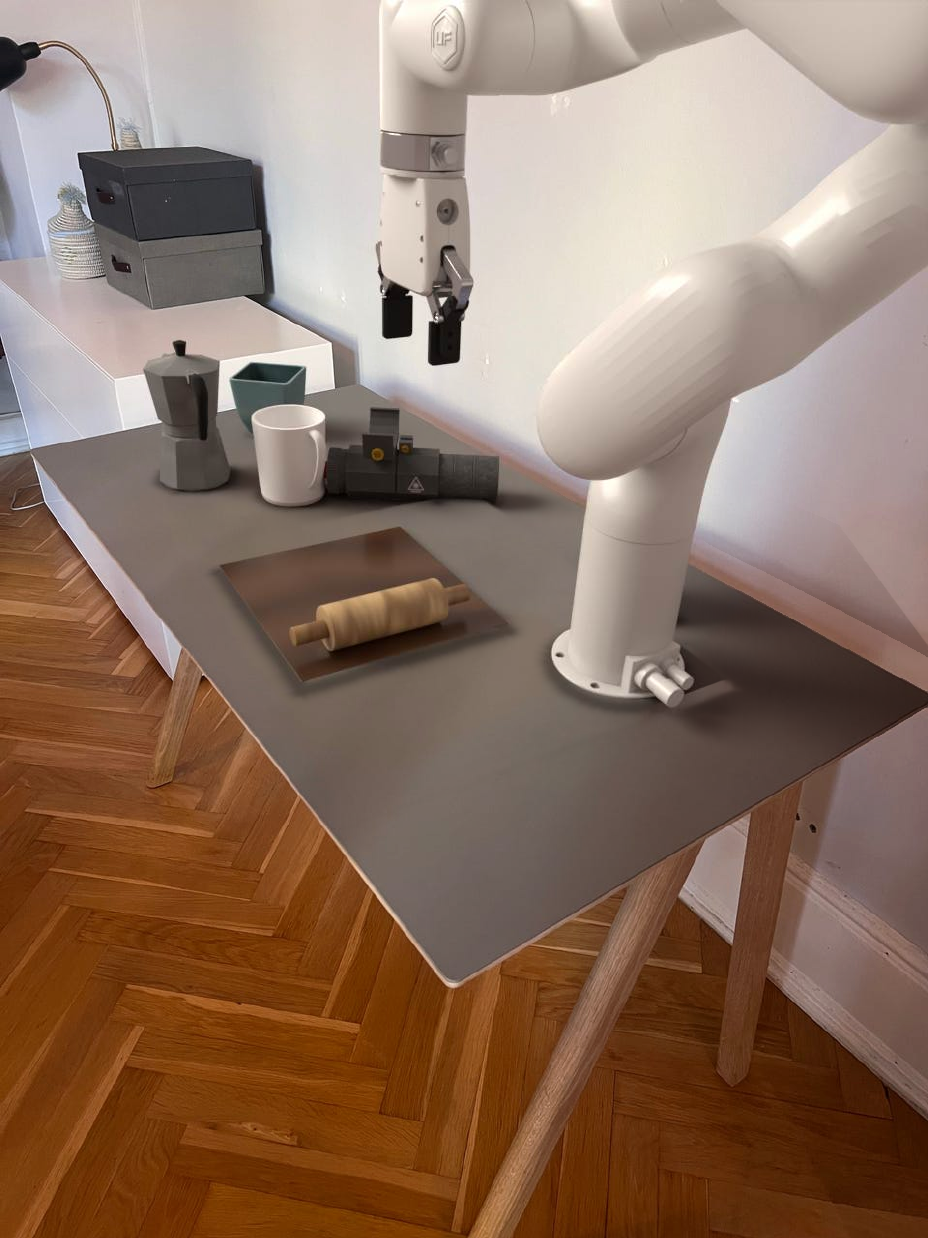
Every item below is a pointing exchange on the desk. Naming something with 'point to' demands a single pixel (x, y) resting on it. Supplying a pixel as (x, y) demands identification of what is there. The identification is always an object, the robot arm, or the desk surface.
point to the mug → (290, 454)
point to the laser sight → (406, 467)
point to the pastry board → (348, 596)
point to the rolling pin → (379, 614)
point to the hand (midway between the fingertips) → (419, 349)
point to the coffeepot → (188, 419)
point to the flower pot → (266, 388)
